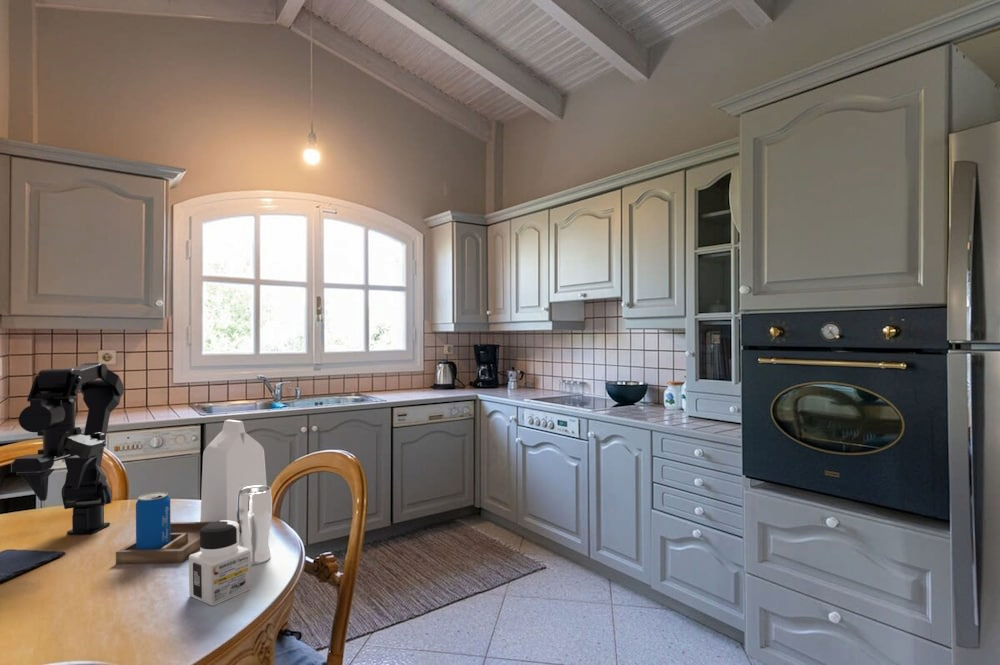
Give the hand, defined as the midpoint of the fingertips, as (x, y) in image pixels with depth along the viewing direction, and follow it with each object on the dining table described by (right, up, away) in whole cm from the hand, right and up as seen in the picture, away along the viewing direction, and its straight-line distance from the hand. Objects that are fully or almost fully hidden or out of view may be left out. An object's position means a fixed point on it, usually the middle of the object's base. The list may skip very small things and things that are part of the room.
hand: (60, 494), depth 123 cm
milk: (+30, -13, +19) cm, 38 cm away
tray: (+24, -13, +2) cm, 27 cm away
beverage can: (+22, -12, -2) cm, 25 cm away
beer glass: (+46, -13, -5) cm, 48 cm away
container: (+46, -13, -20) cm, 52 cm away
